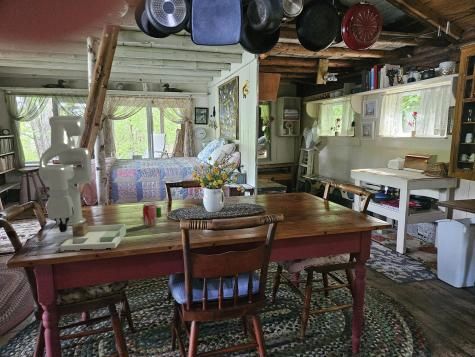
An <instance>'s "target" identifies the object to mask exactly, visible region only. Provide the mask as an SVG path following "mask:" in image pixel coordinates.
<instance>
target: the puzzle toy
mask: <svg viewBox="0 0 475 357" xmlns="http://www.w3.org/2000/svg"><path fill="white" fill-rule="evenodd" d="M155 206H156V214H157V218H161V217H162V208H161V206H160V205H159V204H158V205H155Z"/></svg>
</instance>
